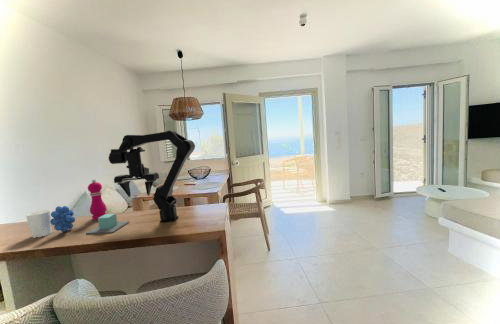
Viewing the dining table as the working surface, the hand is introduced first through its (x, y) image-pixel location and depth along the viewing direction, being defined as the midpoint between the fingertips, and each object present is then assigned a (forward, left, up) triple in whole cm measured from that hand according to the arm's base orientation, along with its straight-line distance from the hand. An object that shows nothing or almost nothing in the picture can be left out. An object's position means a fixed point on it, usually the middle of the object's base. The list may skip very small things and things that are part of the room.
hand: (139, 196), depth 115 cm
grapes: (+30, +9, -12) cm, 34 cm away
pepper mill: (+27, -8, -12) cm, 31 cm away
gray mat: (+12, +7, -12) cm, 18 cm away
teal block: (+12, +7, -11) cm, 18 cm away
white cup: (+40, +11, -12) cm, 43 cm away
